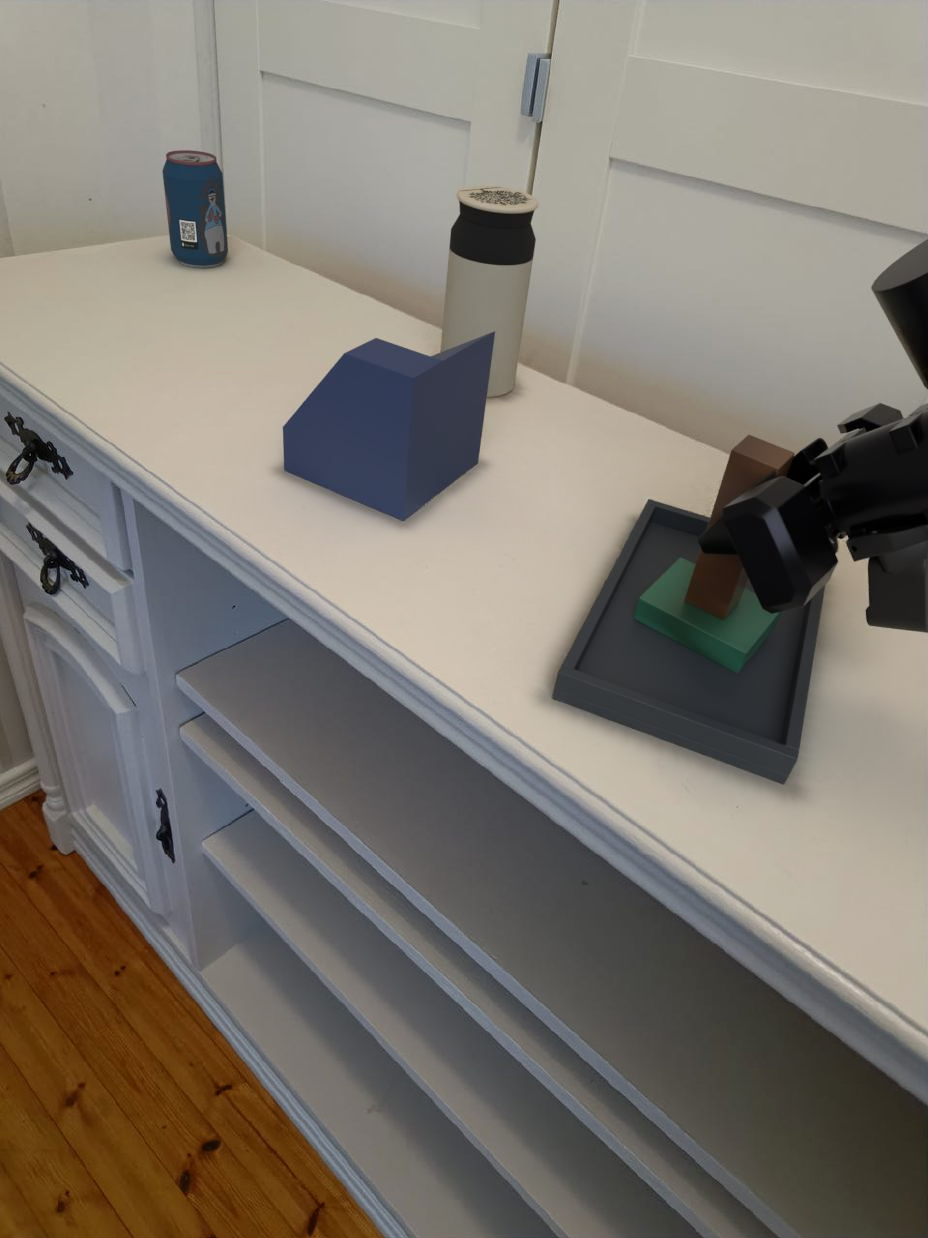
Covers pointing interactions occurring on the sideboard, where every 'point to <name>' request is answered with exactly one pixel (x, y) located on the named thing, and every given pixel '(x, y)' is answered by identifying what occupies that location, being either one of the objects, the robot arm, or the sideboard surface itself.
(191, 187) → the soda can
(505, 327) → the travel mug
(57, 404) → the sideboard surface
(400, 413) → the phone stand
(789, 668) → the tray
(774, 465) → the brown post on base
